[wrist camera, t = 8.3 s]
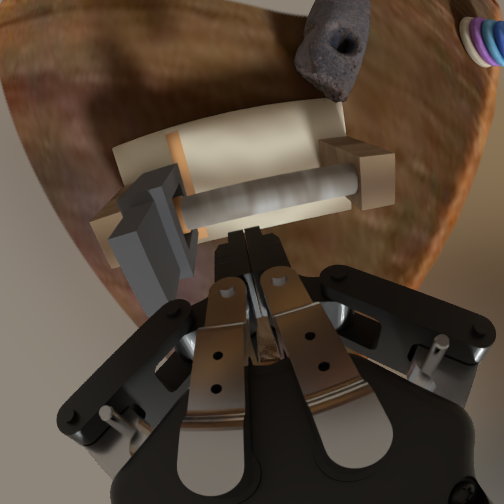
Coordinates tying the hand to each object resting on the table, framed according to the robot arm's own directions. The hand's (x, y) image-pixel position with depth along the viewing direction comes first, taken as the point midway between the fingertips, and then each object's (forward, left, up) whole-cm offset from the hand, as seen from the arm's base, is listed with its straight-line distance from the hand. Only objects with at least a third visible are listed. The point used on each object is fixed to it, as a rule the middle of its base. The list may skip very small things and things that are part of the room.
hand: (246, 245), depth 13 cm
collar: (0, -5, -10) cm, 11 cm away
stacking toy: (-16, +37, -15) cm, 43 cm away
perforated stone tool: (-13, +12, -15) cm, 23 cm away
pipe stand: (0, +1, -15) cm, 15 cm away
